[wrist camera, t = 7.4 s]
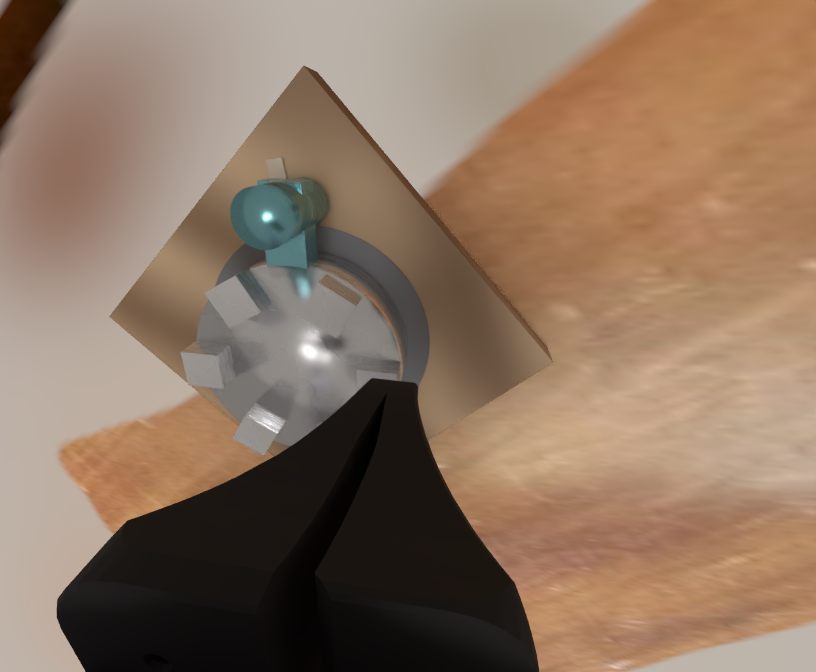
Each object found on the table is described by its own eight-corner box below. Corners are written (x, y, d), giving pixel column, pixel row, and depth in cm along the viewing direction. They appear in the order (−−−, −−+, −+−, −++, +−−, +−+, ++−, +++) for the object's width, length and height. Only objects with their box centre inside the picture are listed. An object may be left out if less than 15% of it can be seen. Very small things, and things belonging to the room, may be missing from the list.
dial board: (335, 483, 26) (327, 504, 25) (130, 306, 22) (106, 318, 21) (547, 347, 20) (554, 364, 19) (317, 71, 16) (301, 64, 15)
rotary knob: (404, 427, 21) (391, 487, 17) (240, 408, 22) (195, 462, 18) (414, 182, 16) (398, 194, 12) (198, 171, 17) (122, 178, 13)
